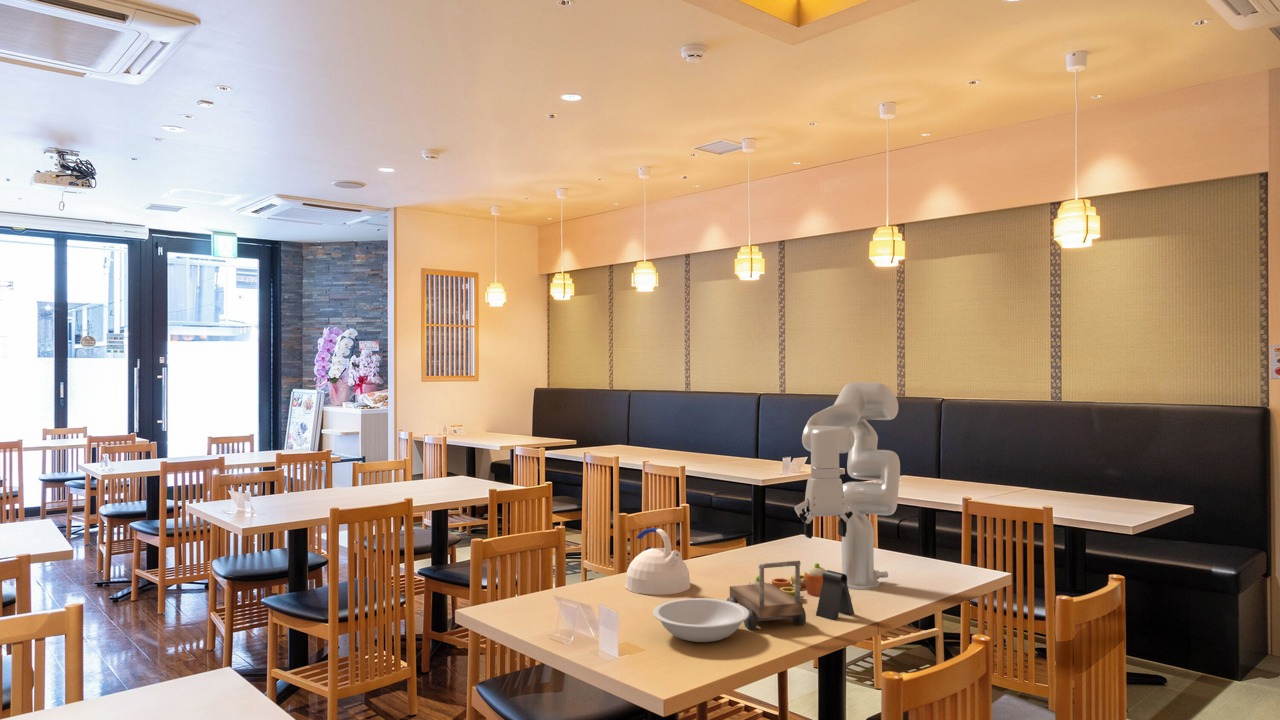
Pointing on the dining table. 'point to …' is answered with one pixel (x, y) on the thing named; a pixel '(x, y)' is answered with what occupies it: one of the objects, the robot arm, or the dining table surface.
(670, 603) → the soup bowl
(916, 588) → the dining table surface
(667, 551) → the kettle
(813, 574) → the toy tea set
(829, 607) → the phone stand
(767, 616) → the trolley
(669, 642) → the dining table surface
